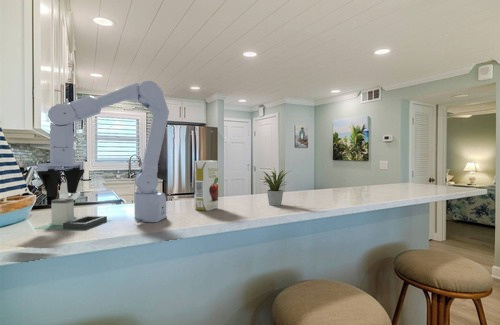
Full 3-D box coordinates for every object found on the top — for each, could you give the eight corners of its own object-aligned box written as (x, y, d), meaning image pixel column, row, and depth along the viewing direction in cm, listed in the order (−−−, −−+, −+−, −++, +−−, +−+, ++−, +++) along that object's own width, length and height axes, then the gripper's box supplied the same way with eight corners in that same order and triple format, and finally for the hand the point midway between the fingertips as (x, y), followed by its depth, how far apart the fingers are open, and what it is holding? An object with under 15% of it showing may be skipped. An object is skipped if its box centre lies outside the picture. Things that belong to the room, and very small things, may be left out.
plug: (73, 222, 83) (73, 199, 83) (66, 225, 80) (66, 200, 80) (57, 222, 84) (57, 198, 83) (49, 224, 81) (49, 200, 80)
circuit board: (112, 223, 87) (112, 215, 87) (86, 233, 75) (86, 224, 75) (67, 222, 88) (66, 214, 88) (34, 232, 76) (34, 223, 76)
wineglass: (62, 216, 96) (62, 181, 96) (82, 215, 98) (81, 180, 98) (57, 220, 91) (57, 182, 90) (78, 218, 93) (78, 182, 92)
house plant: (293, 202, 127) (294, 166, 127) (295, 207, 113) (296, 167, 113) (262, 201, 129) (262, 165, 128) (260, 207, 115) (260, 167, 114)
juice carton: (191, 209, 109) (191, 160, 108) (205, 206, 116) (205, 160, 116) (207, 211, 105) (207, 160, 105) (220, 208, 113) (220, 160, 112)
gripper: (67, 148, 89) (68, 191, 89) (27, 147, 74) (27, 198, 75) (88, 148, 88) (89, 191, 89) (52, 147, 74) (52, 198, 74)
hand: (62, 194), depth 82 cm, fingers open, 7 cm apart
